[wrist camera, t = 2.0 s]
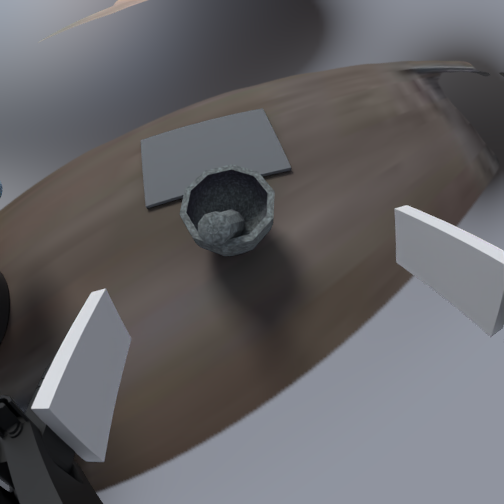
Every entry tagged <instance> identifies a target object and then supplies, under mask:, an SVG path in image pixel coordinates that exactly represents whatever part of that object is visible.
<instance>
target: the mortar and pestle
mask: <svg viewBox="0 0 504 504" xmlns="http://www.w3.org/2000/svg"><path fill="white" fill-rule="evenodd" d="M273 215H274V191H273V189H272V188H271V187H270V186H269V184H268V183H267V182H266V181H265V179H264V178H263V177H262V176H261V175H260V173H259V172H257V171H254V170H250V169H247V168H243V167H240V166H236V165H233V164H231V165H227V166H223V167H218V168H214V169H210V170H206V171H204V172H203V173H202V174H201V175H200V176H199V177H197V178H196V179H195V180H194V181H193V182H192V183H191V184H190V185H189V186H188V187H187V188H186V189H185V191H184V196H183V200H182V205H181V210H180V216H181V218H182V220H183V222H184V224H185V225H186V227H187V229H188V231H189V232H190V234H191V236H192V237H193V239H194V241H195V243H196V244H197V245H199V246H200V247H202V248H204V249H207V250H210V251H212V252H215V253H217V254H220V255H223V256H234V255H238V254H242V253H246V252H248V251H249V250H253V249H254V248H255V247H256V246H257V244H258V243H259V242H260V241H261V240H262V239H263V238H264V237H265V235H266V234H267V233H268V232H269V231H270V230H271V227H272V225H273Z"/></svg>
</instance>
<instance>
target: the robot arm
mask: <svg viewBox="0 0 504 504" xmlns="http://www.w3.org/2000/svg"><path fill="white" fill-rule="evenodd" d="M1 195H2V184H1V182H0V197H1ZM395 228H396V262H397V263H398V264H399V265H401V266H402V267H403V268H405V269H406V270H407V271H409V272H410V273H412V274H413V275H414V276H416V277H417V278H418V279H420V280H421V281H422V282H424V283H425V284H426V285H427V286H429V287H430V288H431V289H433V290H434V291H435V292H436V293H438V294H439V295H440V296H442V297H443V298H444V299H445V300H447V301H448V302H449V303H450V304H452V305H453V306H454V307H455V308H457V309H458V310H459V311H460V312H462V313H463V314H464V315H465V316H466V317H467V318H469V319H470V320H471V321H472V322H474V323H475V324H476V325H477V326H478V327H479V328H480V329H482V330H483V331H484V332H485V333H486V334H487V335H489V336H490V337H492V336H493V335H494V334H496V333H497V332H498V331H499V330H501V329H502V328H503V325H504V251H503V250H501V249H500V248H498V247H496V246H494V245H491V244H490V243H488V242H486V241H484V240H482V239H480V238H478V237H476V236H474V235H472V234H470V233H468V232H466V231H464V230H462V229H460V228H458V227H456V226H453V225H451V224H449V223H447V222H445V221H443V220H440V219H438V218H436V217H434V216H431V215H429V214H427V213H424V212H422V211H420V210H417V209H415V208H412V207H410V206H408V205H406V206H402V207H399V208H395ZM8 316H9V292H8V287H7V283H6V280H5V278H4V276H3V275H2V273H1V272H0V343H1V341H2V339H3V336H4V334H5V331H6V327H7V322H8ZM130 342H131V337H130V335H129V333H128V331H127V330H126V328H125V326H124V324H123V322H122V320H121V318H120V316H119V314H118V312H117V310H116V308H115V306H114V304H113V302H112V300H111V298H110V296H109V294H108V292H107V290H106V289H102V290H98V291H95V292H92V293H91V294H90V296H89V298H88V299H87V301H86V302H85V304H84V306H83V307H82V309H81V311H80V313H79V314H78V316H77V318H76V319H75V321H74V323H73V325H72V326H71V328H70V330H69V332H68V334H67V335H66V337H65V339H64V341H63V343H62V345H61V347H60V348H59V350H58V352H57V354H56V356H55V358H54V360H53V361H52V362H51V363H50V364H49V366H48V367H47V368H46V370H45V372H44V374H43V376H42V380H40V382H39V384H38V388H36V390H35V393H34V395H33V397H32V399H31V401H30V404H29V406H28V408H27V411H26V413H25V414H24V413H23V411H22V410H21V409H20V408H19V407H18V406H17V405H16V404H15V402H14V401H13V400H12V399H11V398H10V397H9V396H7V395H3V396H0V479H1V480H2V481H3V482H5V483H6V484H7V485H9V487H10V491H7V490H5V489H4V488H2V487H1V486H0V504H103V503H102V501H101V500H100V498H99V497H98V495H97V494H96V492H95V491H94V489H93V488H92V486H91V485H90V483H89V481H88V480H87V478H86V476H85V475H84V473H83V471H82V470H81V468H80V466H79V465H78V464H77V463H76V462H75V461H74V460H73V458H74V454H75V453H76V454H78V455H79V456H80V457H81V458H82V459H84V460H85V461H87V462H104V460H105V454H106V448H107V442H108V437H109V431H110V426H111V421H112V416H113V412H114V407H115V402H116V398H117V393H118V389H119V385H120V381H121V377H122V372H123V368H124V365H125V361H126V357H127V353H128V349H129V346H130Z"/></svg>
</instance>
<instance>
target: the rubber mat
mask: <svg viewBox="0 0 504 504" xmlns="http://www.w3.org/2000/svg"><path fill="white" fill-rule="evenodd" d="M141 153H142V168H143V181H144V192H145V202H146V207H147V209H148V208H151V207H154V206H157V205H160V204H164V203H167V202H170V201H174V200H177V199H180V198H183V196H184V191H185V189H186V188H187V187H188V186H189V185H190V184H191V183H192V182H193V181H194V180H195V179H196V178H197V177H199V176H200V175H201V174H202V173H203V172H204V171H206V170H210V169H214V168H218V167H223V166H227V165H231V164H233V165H236V166H240V167H243V168H247V169H250V170H254V171H257V172H259V173H260V175H261V176H262V177H263V176H267V175H272V174H276V173H280V172H285V171H289V170H291V166H290V164H289V162H288V159H287V157H286V155H285V153H284V151H283V149H282V147H281V145H280V142H279V140H278V138H277V136H276V134H275V132H274V130H273V128H272V126H271V124H270V122H269V120H268V118H267V116H266V114H265V112H264V110H263V108H262V109H257V110H252V111H247V112H242V113H237V114H233V115H228V116H224V117H220V118H216V119H212V120H208V121H204V122H200V123H196V124H192V125H189V126H185V127H182V128H178V129H175V130H171V131H168V132H165V133H162V134H158V135H155V136H152V137H149V138H146V139H143V140H141Z"/></svg>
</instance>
